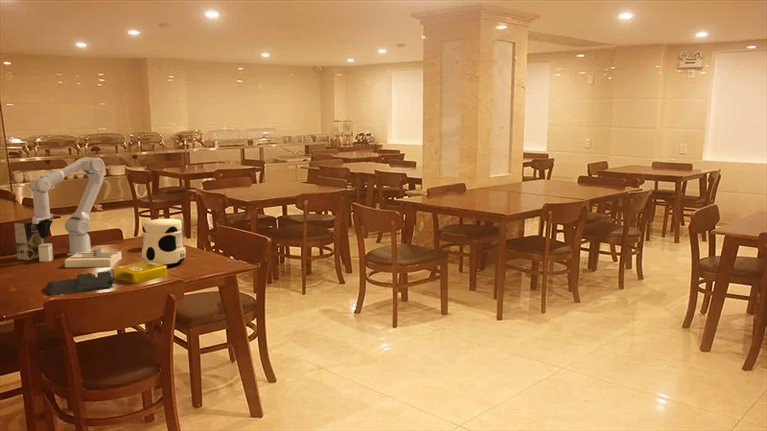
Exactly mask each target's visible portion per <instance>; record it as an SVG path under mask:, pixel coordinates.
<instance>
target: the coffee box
mask: <svg viewBox="0 0 767 431" xmlns="http://www.w3.org/2000/svg"><path fill="white" fill-rule="evenodd" d="M13 224H14V233H15V234H14V235H15V236H14V237H15V244H16V247H15V248H16V257H17V260H23V261H31V260H34V259H37V258H39V250H38V245H40V244H44V238H41V237H40V235H39V232H38V230H37V228H36V227H35V225H34V224H32V219H27V220H23V221H22V220H21V221H18V222H14V223H13Z"/></svg>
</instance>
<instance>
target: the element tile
mask: <svg viewBox="0 0 767 431" xmlns="http://www.w3.org/2000/svg"><path fill="white" fill-rule="evenodd" d="M167 276H168V266H166V265H162V264H158V263H153V262H149V261H143V260H142V261H138V262H133V263H129V264H125V265H119V266H116V267H114V268H113V278H114V279H115V280H119V281H123V282H127V283H131V284H140V283H145V282H149V281H152V280H157V279H160V278H165V277H167Z"/></svg>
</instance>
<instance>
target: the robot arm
mask: <svg viewBox="0 0 767 431" xmlns="http://www.w3.org/2000/svg"><path fill="white" fill-rule="evenodd" d="M105 169H106V165H105V163H104V161H103V159H102V158H101V157H88V156H84V157H82V158H79V159H77V160H75V161H74V162H73V163H70V164H68V165H67V166H65V167H63V168H62V169H53V168H52V169H50V170H49V172H47V173H45V174H40V175H39V176H40V177H34V178H32V179H31V181H29V184H28V188H29V190H30V191H31V193H32V199H33V200H32V201H33V211H34V216H32V217H31V220H32V224H34V225H35V227H36V228H37V230H38V232H39V235H40V237H41V238H43V239H47V238H49V234H50V229H51V226H52V223H53V219H54V217H53V215H54V214H53V213H51V209H50V199H49V190H50V189H51V187H54V186H56V185H58V184H60V183H62V182H63V181H64V180H65V177H68V176H69V175H72V174H74V173H76V172H79V171H81V170H82V171H83V172H84V173H85V174H86V176H87V178H88V183H87V185H86V187H85V190H84V192H83V193H82V197H81V198H80V201H79V204H78V206H77V208H76V210H75V212H73V213H72V214H70V217H69V218H68V219H67V220H66V221H65V224H64V228H65V231H66V232H68V241H69V253H67V254H66V256H73V255H75V254H77V253H78V252H93V250H94V249H92V248H91V247H92V246H91V238H90V235H89V233H88V232H89V231H90V226H91V225H90V223H91V218H90V213H91V210H92V209H93V206H94V204H95V202H96V199H97V197H98V194H99V193H100V189H101V188H102V185H103V183H104V178H105V177H104V173H105Z"/></svg>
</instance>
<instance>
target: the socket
mask: <svg viewBox="0 0 767 431" xmlns="http://www.w3.org/2000/svg"><path fill="white" fill-rule="evenodd" d="M105 252H106V251H101V253H105ZM113 252H114V254H113V255H112V256H102V257H93V256H94V254H93V251H91V252H78V253H77V254H75V255H70V256H69V257H68V258H66V259H64V268H94V267H95V268H98V267H99V268H101V267H103V268H104V267H105V268H107V267H108V268H109V267H112V266H113V265H115V264H116V263H118V262H119V261H120V260H122V257H123V256H122V251H113Z"/></svg>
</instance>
